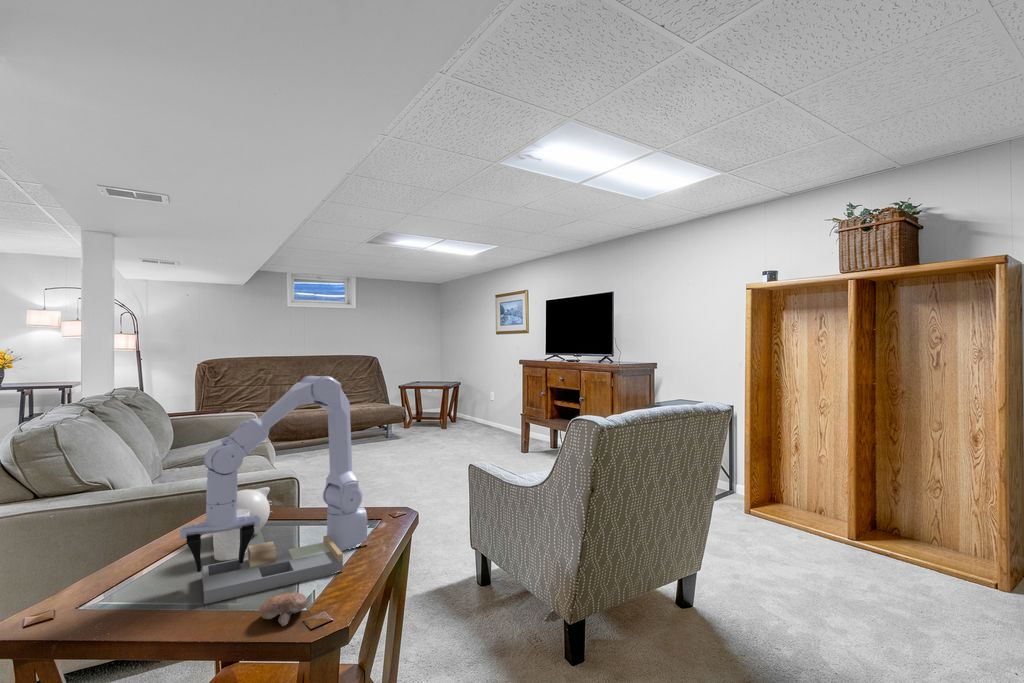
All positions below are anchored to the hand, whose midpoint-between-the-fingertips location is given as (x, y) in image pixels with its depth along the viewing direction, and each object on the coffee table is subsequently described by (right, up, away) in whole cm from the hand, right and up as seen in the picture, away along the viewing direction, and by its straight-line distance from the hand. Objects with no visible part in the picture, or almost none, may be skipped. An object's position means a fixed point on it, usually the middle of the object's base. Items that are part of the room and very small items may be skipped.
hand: (220, 566), depth 104 cm
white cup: (-6, -4, +14) cm, 16 cm away
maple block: (+7, -1, +4) cm, 8 cm away
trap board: (+10, -3, +3) cm, 11 cm away
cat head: (-10, -5, +27) cm, 29 cm away
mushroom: (+21, -3, -15) cm, 26 cm away
